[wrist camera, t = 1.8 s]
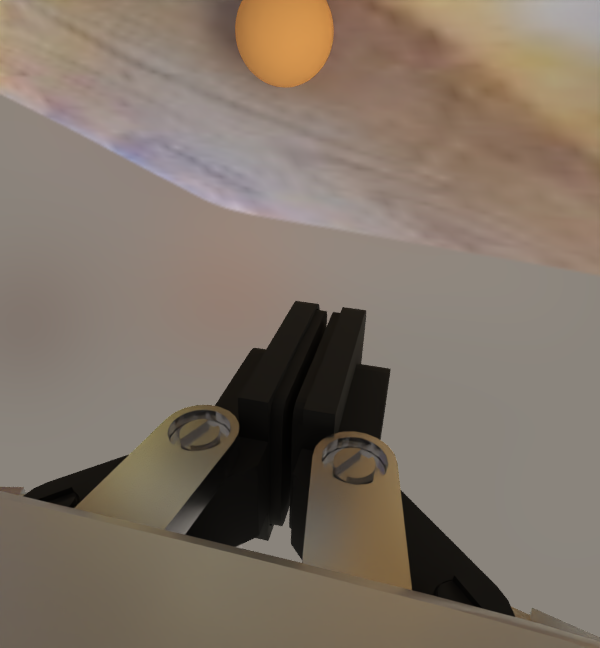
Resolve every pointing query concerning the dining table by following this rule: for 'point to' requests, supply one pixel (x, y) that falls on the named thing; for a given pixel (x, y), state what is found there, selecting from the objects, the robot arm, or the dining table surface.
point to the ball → (284, 39)
